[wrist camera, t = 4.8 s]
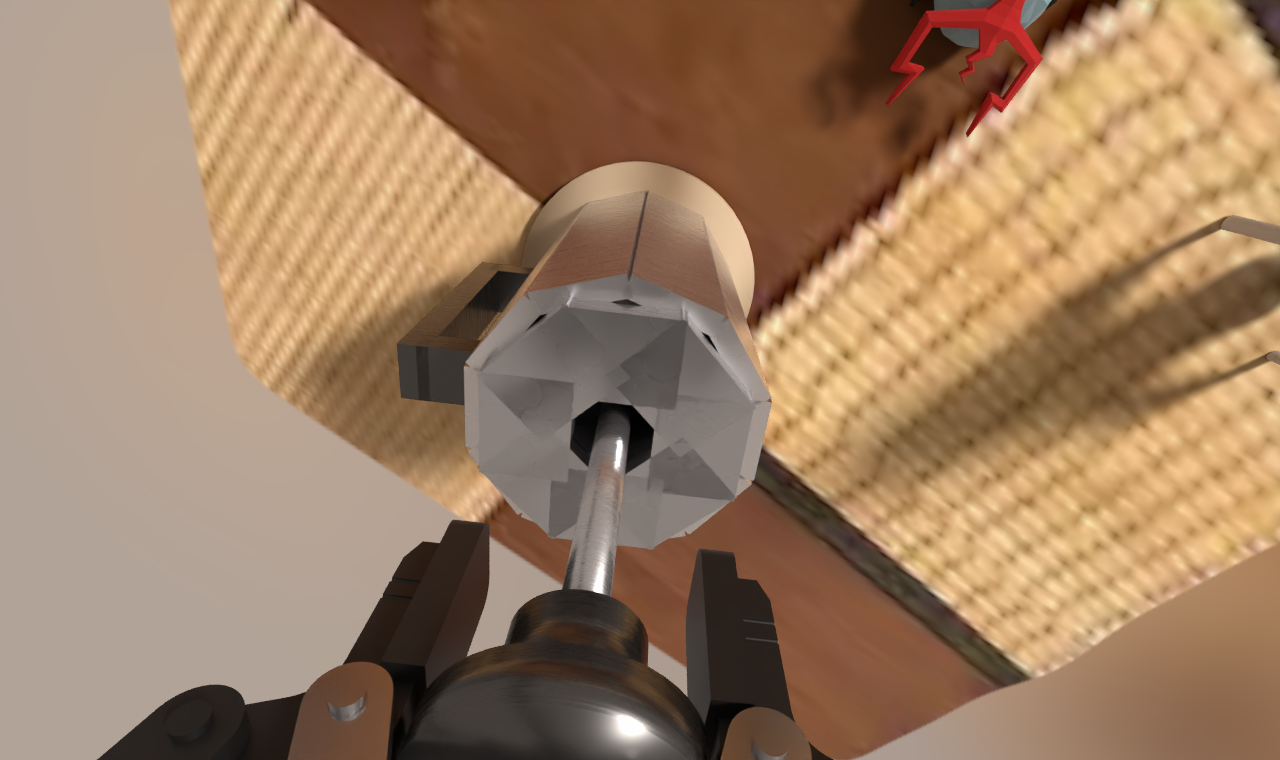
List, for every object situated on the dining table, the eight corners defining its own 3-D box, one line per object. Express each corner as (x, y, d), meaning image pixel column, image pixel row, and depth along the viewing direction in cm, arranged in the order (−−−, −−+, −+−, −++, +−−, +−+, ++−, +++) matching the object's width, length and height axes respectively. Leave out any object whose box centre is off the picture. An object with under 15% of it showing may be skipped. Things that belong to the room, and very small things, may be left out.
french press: (495, 352, 34) (375, 537, 20) (496, 172, 29) (345, 249, 16) (709, 377, 34) (737, 579, 20) (741, 201, 30) (802, 303, 16)
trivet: (520, 371, 35) (518, 375, 34) (526, 146, 29) (523, 147, 29) (731, 396, 35) (732, 400, 34) (774, 176, 30) (776, 178, 29)
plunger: (547, 395, 27) (348, 906, 10) (554, 250, 24) (293, 628, 7) (694, 412, 27) (734, 948, 10) (718, 269, 24) (827, 687, 7)
